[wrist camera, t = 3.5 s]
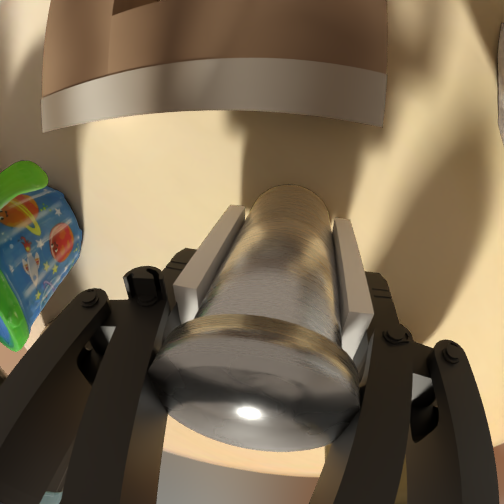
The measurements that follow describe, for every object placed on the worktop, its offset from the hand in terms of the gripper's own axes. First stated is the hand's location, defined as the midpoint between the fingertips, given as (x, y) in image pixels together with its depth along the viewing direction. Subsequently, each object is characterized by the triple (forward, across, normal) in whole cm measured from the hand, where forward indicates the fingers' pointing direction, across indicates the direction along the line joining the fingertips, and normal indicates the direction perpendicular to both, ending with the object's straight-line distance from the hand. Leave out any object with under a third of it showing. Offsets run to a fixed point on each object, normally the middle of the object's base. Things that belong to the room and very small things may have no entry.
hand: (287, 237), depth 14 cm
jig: (+2, +5, -14) cm, 15 cm away
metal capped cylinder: (+2, 0, 0) cm, 2 cm away
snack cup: (+2, +19, +2) cm, 19 cm away
